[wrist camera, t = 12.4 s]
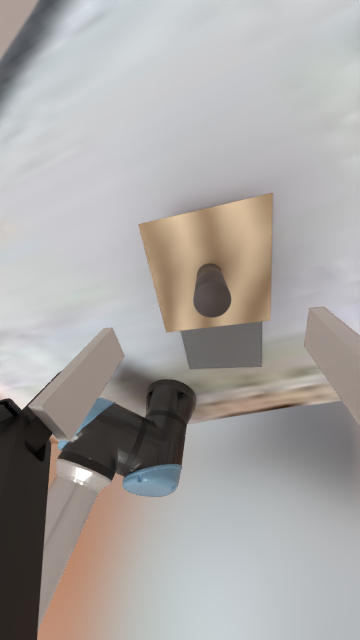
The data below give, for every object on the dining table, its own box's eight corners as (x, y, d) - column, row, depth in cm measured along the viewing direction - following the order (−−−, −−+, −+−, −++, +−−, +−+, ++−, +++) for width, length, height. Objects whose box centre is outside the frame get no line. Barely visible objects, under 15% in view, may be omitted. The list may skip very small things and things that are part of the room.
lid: (167, 328, 29) (151, 373, 20) (140, 224, 23) (100, 222, 14) (267, 317, 26) (300, 363, 17) (269, 194, 20) (322, 167, 11)
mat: (190, 367, 50) (189, 368, 49) (176, 308, 41) (175, 309, 41) (260, 365, 46) (261, 366, 45) (261, 298, 37) (262, 299, 37)
